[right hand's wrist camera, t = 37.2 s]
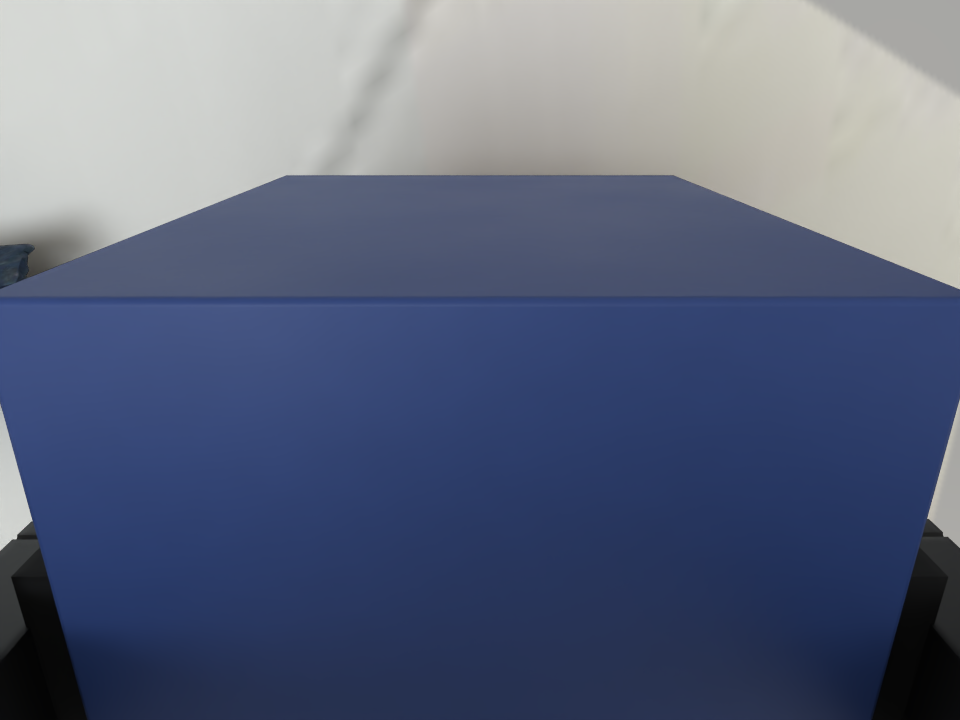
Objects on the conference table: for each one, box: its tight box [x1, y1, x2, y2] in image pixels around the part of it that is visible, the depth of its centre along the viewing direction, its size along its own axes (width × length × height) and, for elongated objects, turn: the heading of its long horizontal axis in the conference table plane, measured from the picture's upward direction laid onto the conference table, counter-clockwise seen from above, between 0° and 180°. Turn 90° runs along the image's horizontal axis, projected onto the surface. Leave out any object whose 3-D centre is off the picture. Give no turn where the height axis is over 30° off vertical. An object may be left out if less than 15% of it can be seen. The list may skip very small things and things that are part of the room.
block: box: [0, 175, 960, 720], centre depth 12 cm, size 8×9×10 cm
